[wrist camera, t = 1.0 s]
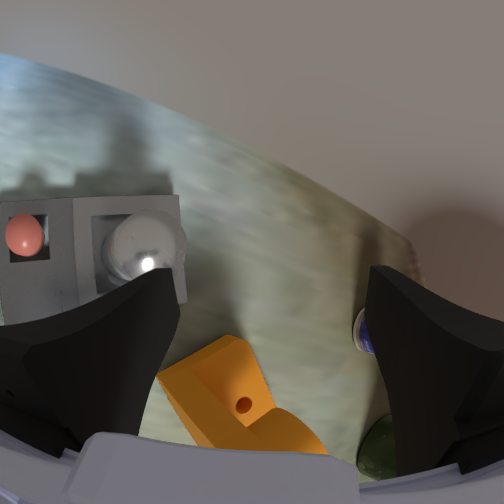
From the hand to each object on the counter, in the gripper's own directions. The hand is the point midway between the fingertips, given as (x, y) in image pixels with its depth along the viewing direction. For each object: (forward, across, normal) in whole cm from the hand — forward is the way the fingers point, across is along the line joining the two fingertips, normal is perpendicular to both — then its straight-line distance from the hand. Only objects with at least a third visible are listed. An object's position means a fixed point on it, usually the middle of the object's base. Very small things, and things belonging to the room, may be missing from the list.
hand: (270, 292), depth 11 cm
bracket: (+8, +5, +15) cm, 18 cm away
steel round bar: (+8, +10, +2) cm, 13 cm away
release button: (+4, +16, -1) cm, 16 cm away
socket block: (+7, +13, +2) cm, 15 cm away
